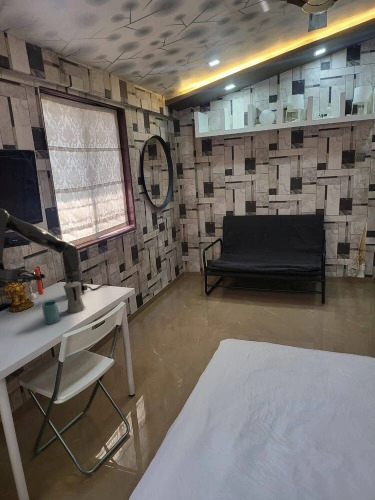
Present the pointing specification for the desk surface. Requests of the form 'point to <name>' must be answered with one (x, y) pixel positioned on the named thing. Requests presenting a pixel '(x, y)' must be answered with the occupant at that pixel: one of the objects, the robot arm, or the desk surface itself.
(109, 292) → the desk surface
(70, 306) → the coffeepot
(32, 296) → the chalice
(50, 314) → the cup
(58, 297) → the desk surface
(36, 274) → the red cylindrical rod
